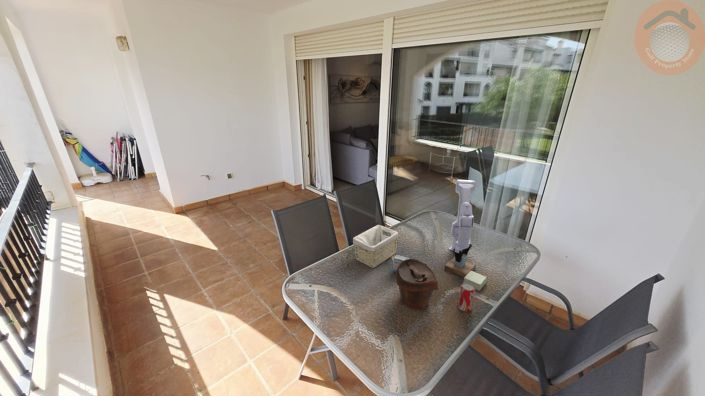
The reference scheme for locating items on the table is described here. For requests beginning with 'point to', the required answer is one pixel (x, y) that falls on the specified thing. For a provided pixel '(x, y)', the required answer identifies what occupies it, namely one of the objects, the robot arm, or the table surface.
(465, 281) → the sage block
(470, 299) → the beverage can
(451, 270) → the walnut block
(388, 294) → the table surface
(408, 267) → the brown lidded pot
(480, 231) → the table surface
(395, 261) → the medicine box
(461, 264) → the slate block
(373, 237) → the storage basket
